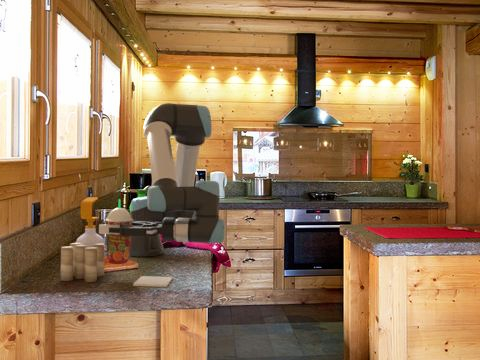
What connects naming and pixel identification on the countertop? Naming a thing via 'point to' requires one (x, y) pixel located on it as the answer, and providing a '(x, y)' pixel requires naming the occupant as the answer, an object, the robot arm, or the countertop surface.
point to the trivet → (153, 281)
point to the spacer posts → (82, 262)
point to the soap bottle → (89, 224)
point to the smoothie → (118, 236)
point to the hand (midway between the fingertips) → (104, 227)
